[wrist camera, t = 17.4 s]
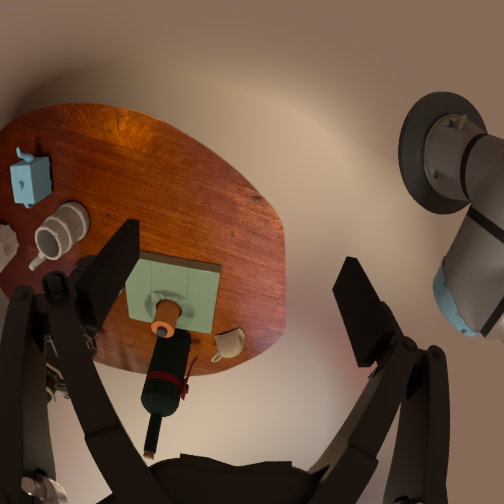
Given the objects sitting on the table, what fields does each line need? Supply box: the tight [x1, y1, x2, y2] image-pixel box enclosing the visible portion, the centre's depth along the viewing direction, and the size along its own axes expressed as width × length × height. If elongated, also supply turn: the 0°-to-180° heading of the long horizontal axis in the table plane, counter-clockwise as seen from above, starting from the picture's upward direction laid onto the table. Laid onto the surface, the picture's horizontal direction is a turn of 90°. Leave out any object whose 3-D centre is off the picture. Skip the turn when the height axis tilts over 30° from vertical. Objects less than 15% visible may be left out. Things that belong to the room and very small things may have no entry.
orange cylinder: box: [151, 299, 181, 337], centre depth 50 cm, size 4×4×9 cm
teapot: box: [10, 147, 52, 208], centre depth 35 cm, size 12×6×8 cm, turn 172°
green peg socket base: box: [125, 251, 222, 334], centre depth 51 cm, size 18×16×2 cm
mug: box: [29, 202, 90, 271], centre depth 39 cm, size 8×12×12 cm, turn 127°
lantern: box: [46, 320, 99, 404], centre depth 44 cm, size 20×16×30 cm
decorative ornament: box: [212, 328, 245, 362], centre depth 57 cm, size 4×8×5 cm, turn 115°
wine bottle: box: [141, 328, 199, 459], centre depth 46 cm, size 8×10×30 cm
